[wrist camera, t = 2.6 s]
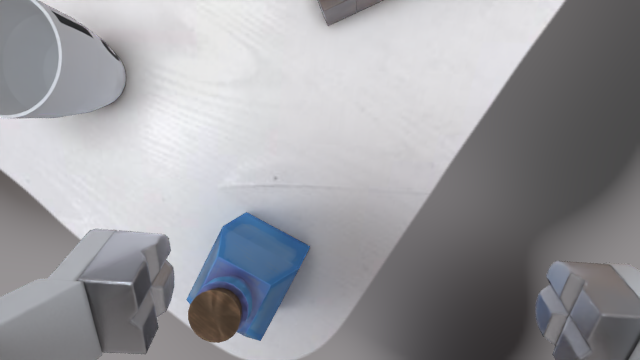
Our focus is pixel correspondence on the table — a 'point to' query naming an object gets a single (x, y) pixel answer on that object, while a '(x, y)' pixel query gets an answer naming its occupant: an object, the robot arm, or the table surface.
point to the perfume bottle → (243, 280)
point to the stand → (343, 8)
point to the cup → (53, 64)
